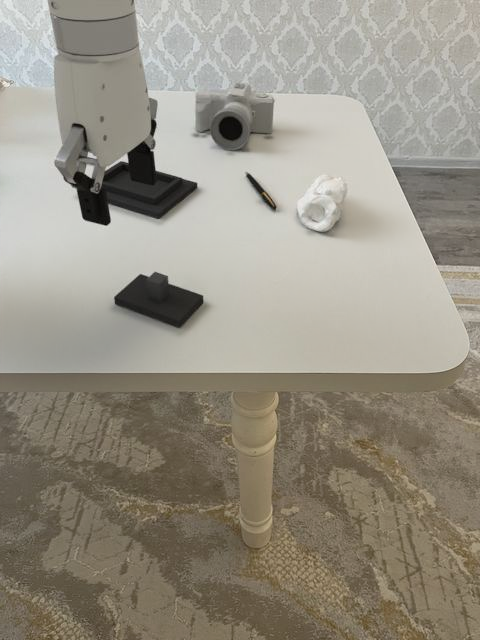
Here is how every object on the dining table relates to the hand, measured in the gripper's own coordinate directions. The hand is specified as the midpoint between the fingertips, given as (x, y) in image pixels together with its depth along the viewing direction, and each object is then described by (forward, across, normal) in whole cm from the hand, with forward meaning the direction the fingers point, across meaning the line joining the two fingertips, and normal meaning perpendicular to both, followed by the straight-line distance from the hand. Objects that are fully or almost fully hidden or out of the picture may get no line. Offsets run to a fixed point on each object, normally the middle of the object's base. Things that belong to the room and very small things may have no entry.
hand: (121, 201), depth 66 cm
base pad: (+16, -28, -17) cm, 37 cm away
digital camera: (+16, -56, -12) cm, 60 cm away
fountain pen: (+16, -37, +2) cm, 41 cm away
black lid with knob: (+16, -3, +2) cm, 16 cm away
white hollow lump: (+17, -34, +14) cm, 40 cm away
